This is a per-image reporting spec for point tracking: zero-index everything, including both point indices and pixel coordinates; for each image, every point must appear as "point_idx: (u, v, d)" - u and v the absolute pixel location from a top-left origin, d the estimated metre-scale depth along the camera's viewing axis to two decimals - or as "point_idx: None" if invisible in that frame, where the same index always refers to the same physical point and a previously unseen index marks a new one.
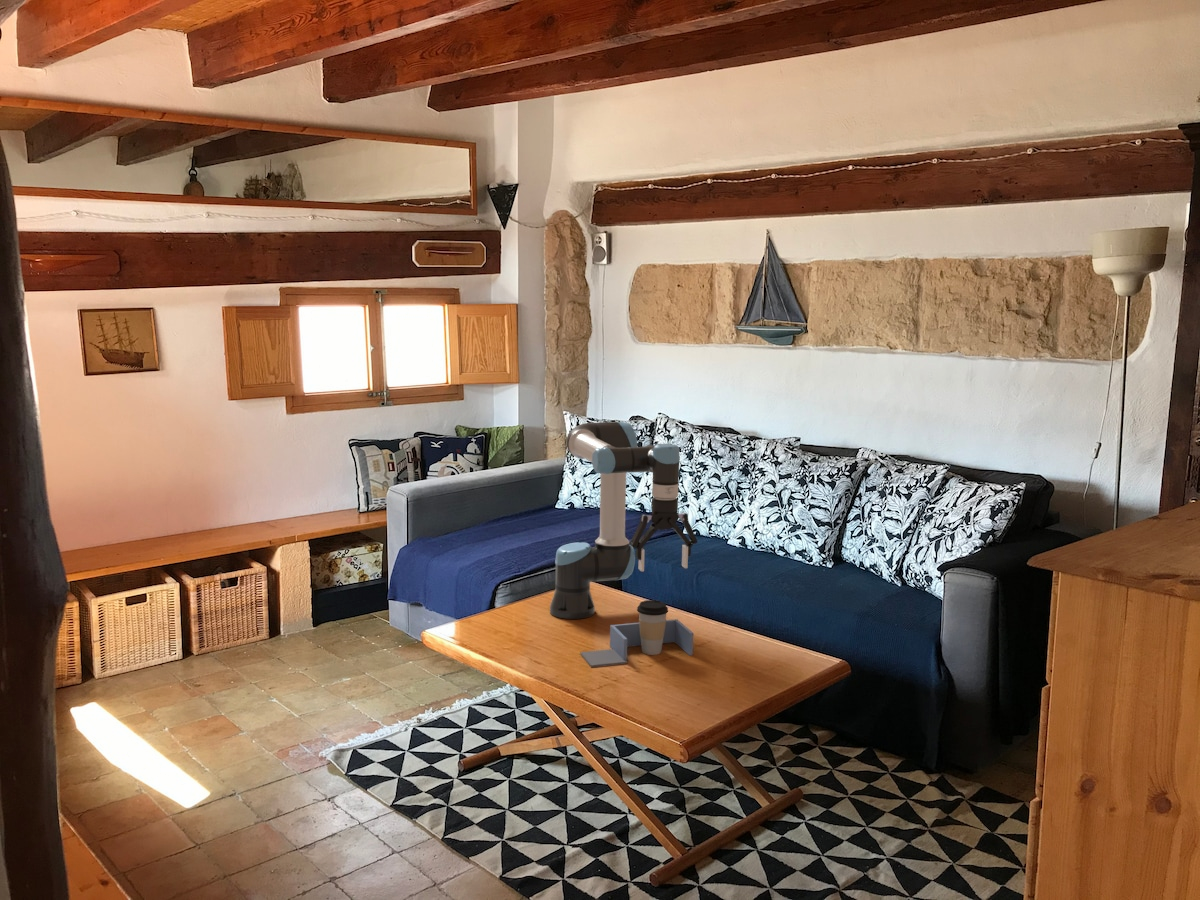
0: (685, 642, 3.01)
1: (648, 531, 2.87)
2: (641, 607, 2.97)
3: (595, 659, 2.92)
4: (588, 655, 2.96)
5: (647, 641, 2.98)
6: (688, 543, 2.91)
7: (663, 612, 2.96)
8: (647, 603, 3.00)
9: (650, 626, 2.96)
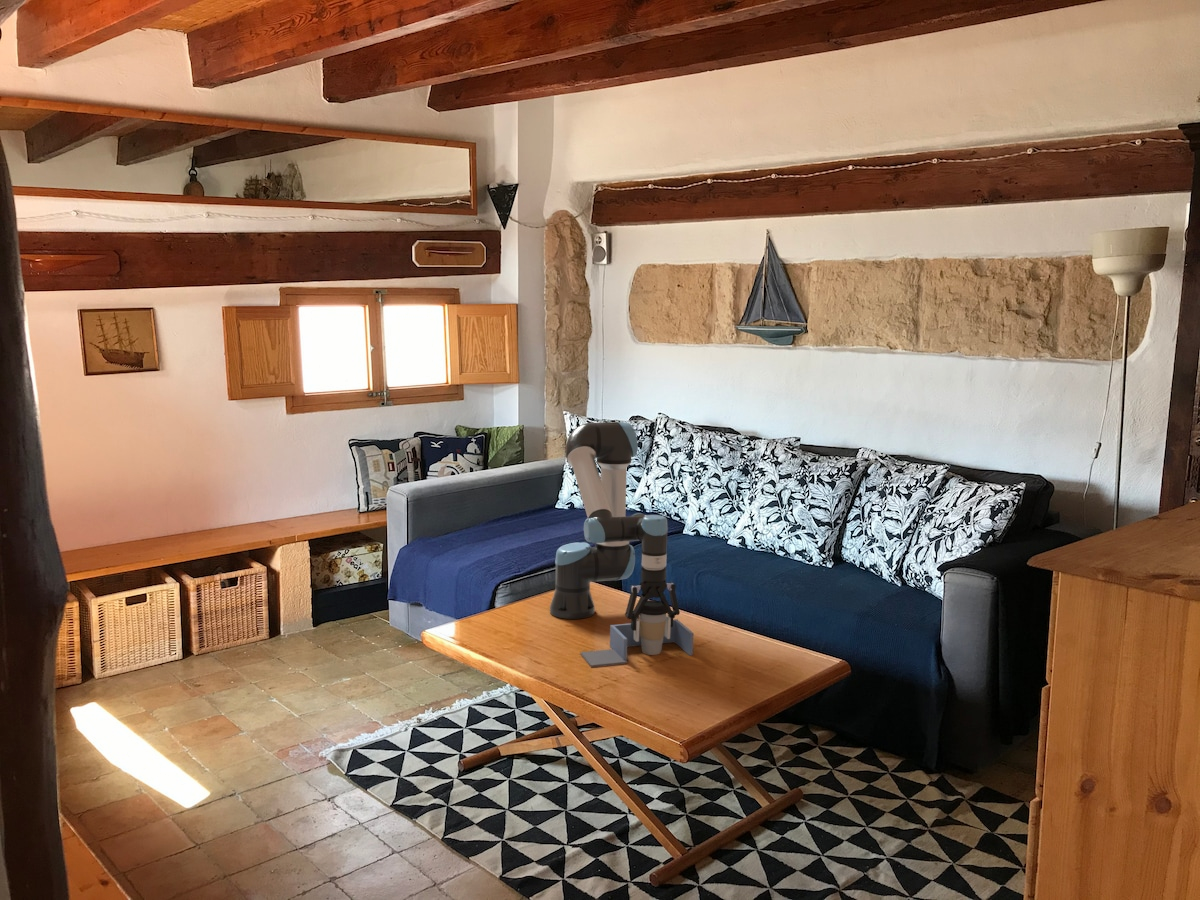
0: (685, 642, 3.01)
1: (640, 601, 2.98)
2: None
3: (595, 659, 2.92)
4: (588, 655, 2.96)
5: (647, 641, 2.98)
6: (671, 614, 3.00)
7: (663, 612, 2.96)
8: (647, 603, 3.00)
9: (650, 626, 2.96)
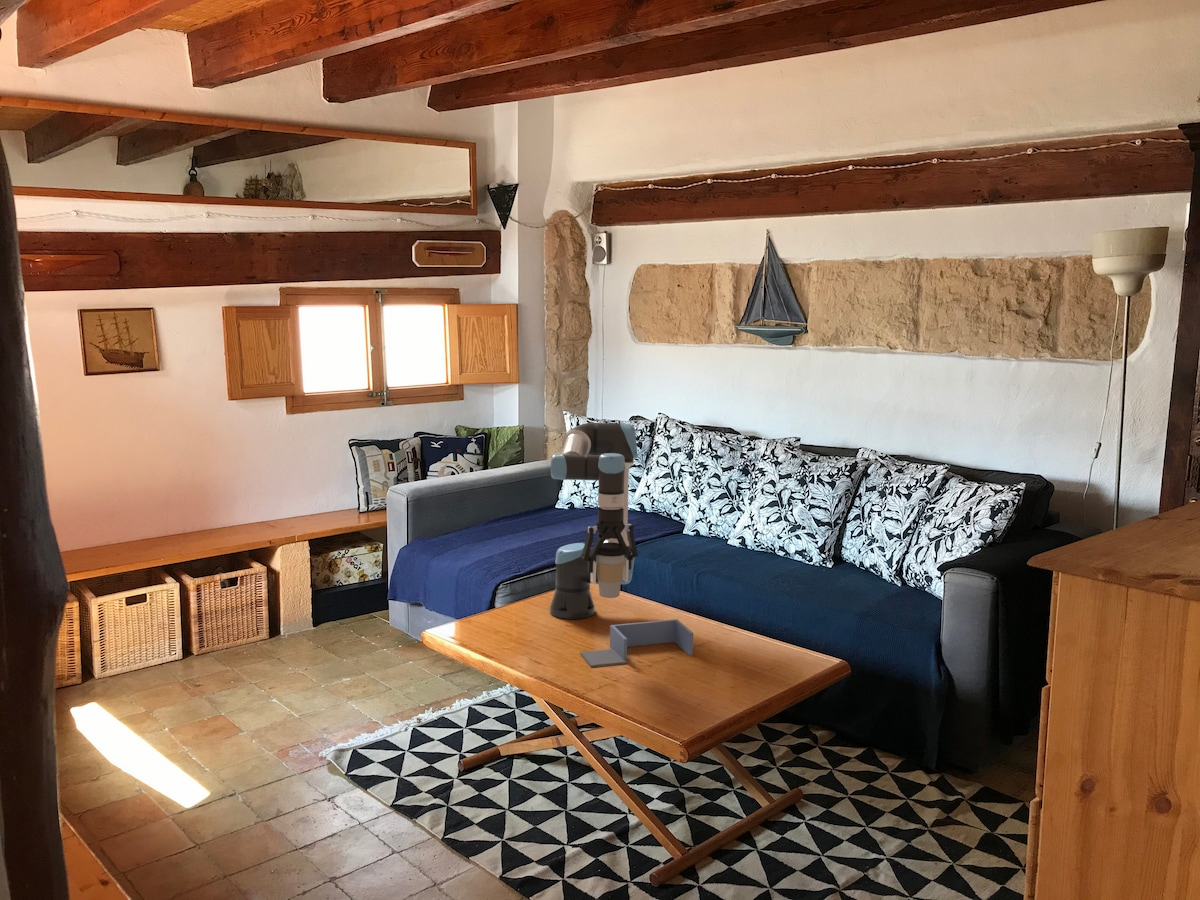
0: (685, 642, 3.01)
1: (596, 543, 2.88)
2: None
3: (595, 659, 2.92)
4: (588, 655, 2.96)
5: (604, 584, 2.89)
6: (629, 556, 2.91)
7: (621, 553, 2.87)
8: (605, 545, 2.91)
9: (607, 568, 2.87)
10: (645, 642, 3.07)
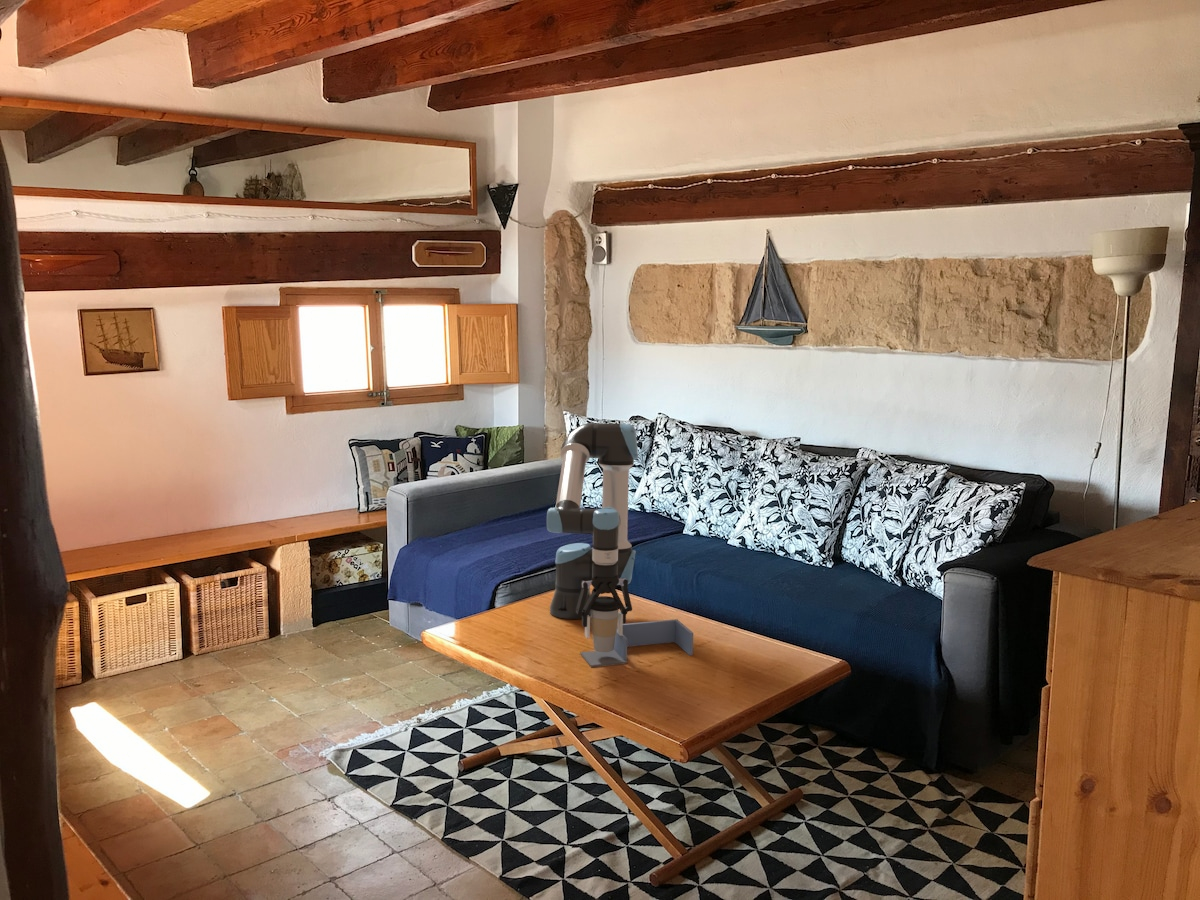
0: (685, 642, 3.01)
1: (591, 597, 2.90)
2: None
3: (595, 659, 2.92)
4: (588, 655, 2.96)
5: (598, 638, 2.91)
6: (623, 610, 2.93)
7: (615, 608, 2.89)
8: (599, 599, 2.93)
9: (601, 622, 2.89)
10: (645, 642, 3.07)
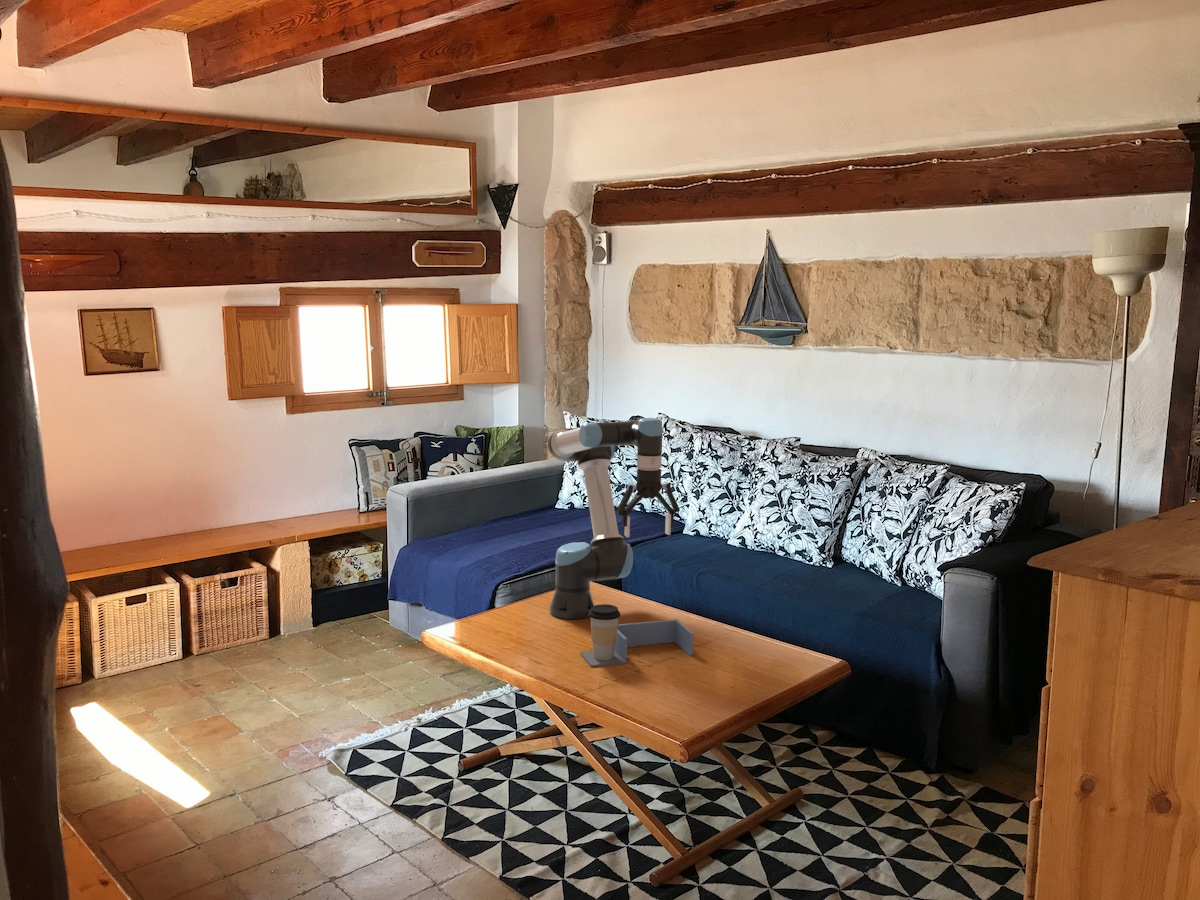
0: (685, 642, 3.01)
1: (633, 500, 3.07)
2: (592, 611, 2.90)
3: (595, 659, 2.92)
4: (588, 655, 2.96)
5: (599, 647, 2.91)
6: (671, 511, 3.10)
7: (615, 617, 2.89)
8: (599, 607, 2.93)
9: (601, 631, 2.89)
10: (645, 642, 3.07)
